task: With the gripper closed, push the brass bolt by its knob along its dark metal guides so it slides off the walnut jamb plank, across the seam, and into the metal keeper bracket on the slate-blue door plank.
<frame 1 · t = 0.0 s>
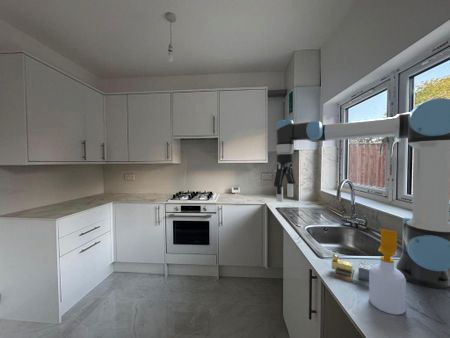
hand: (285, 199, 99), 28 cm above the worktop, fingers open, 13 cm apart
soap bottle: (386, 305, 66), on the worktop
bolt: (341, 263, 85), point 4 cm above the worktop, slide at 0.0 cm
panel: (356, 277, 82), on the worktop
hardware: (355, 268, 82), on the panel, point 4 cm above the worktop
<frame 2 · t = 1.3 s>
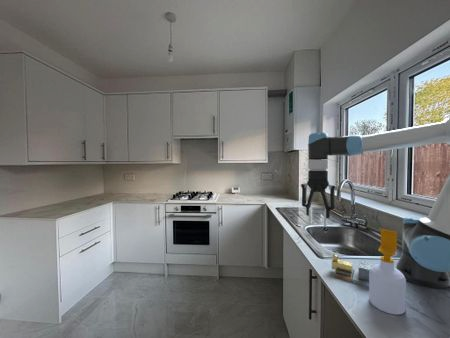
hand: (317, 224, 89), 19 cm above the worktop, fingers open, 5 cm apart
nothing on the worktop moved.
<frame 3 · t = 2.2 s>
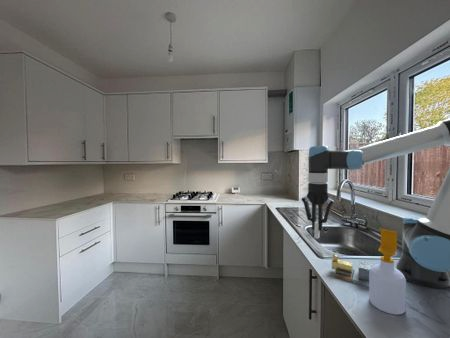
hand: (316, 237, 90), 13 cm above the worktop, fingers closed
nothing on the worktop moved.
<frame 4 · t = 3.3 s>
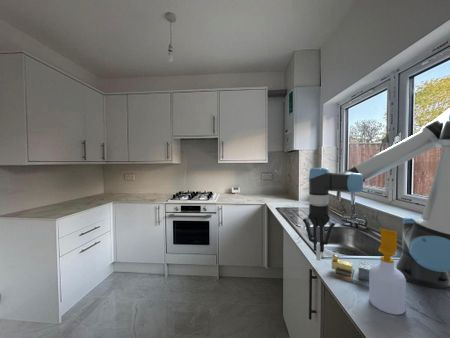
hand: (318, 258, 90), 4 cm above the worktop, fingers closed
nothing on the worktop moved.
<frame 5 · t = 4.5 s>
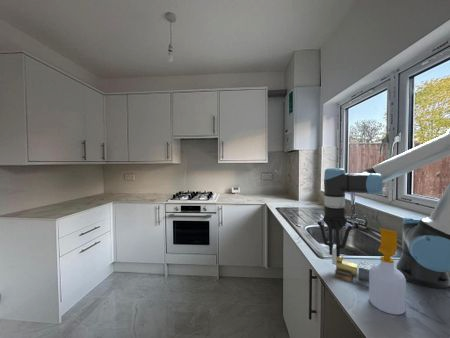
hand: (334, 263, 86), 4 cm above the worktop, fingers closed
bolt: (346, 264, 84), point 4 cm above the worktop, slide at 1.7 cm, touching gripper
everything else where it was.
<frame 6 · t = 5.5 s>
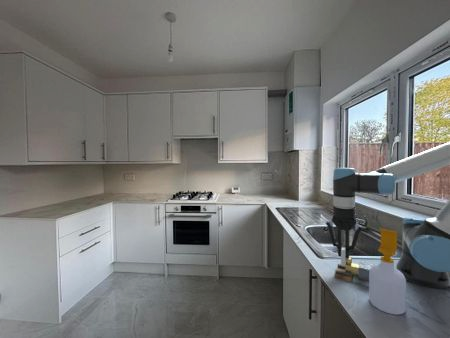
hand: (343, 264, 84), 4 cm above the worktop, fingers closed
bolt: (356, 266, 82), point 4 cm above the worktop, slide at 4.8 cm, touching gripper
everything else where it was.
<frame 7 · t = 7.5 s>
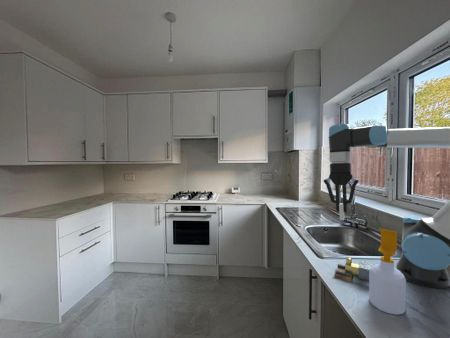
hand: (341, 219, 87), 21 cm above the worktop, fingers closed
bolt: (356, 266, 82), point 4 cm above the worktop, slide at 4.8 cm
everything else where it was.
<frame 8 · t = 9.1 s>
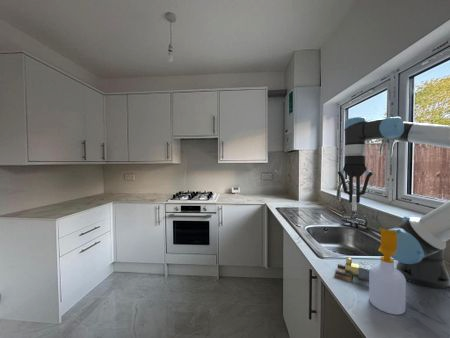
hand: (354, 210, 89), 24 cm above the worktop, fingers closed
nothing on the worktop moved.
at the end: bolt slide at 4.8 cm; bolt 1.0 cm from the target spot, resting on panel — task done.
